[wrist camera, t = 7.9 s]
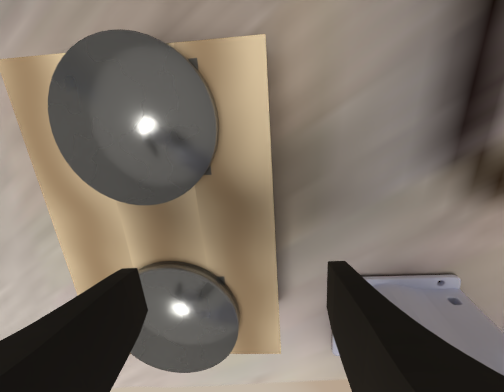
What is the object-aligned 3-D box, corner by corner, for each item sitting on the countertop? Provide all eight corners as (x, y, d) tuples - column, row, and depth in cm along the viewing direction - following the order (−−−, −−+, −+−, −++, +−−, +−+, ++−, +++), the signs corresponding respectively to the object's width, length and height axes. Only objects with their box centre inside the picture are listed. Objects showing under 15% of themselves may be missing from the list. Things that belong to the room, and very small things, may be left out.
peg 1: (222, 42, 16) (203, 20, 11) (234, 177, 18) (224, 201, 14) (89, 54, 16) (22, 38, 12) (120, 183, 19) (75, 208, 14)
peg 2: (240, 230, 20) (231, 268, 15) (248, 318, 22) (243, 372, 18) (133, 234, 20) (95, 272, 16) (153, 319, 23) (126, 372, 18)
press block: (266, 52, 17) (265, 34, 12) (278, 301, 23) (280, 353, 18) (67, 69, 18) (-4, 59, 13) (131, 304, 24) (97, 354, 19)
